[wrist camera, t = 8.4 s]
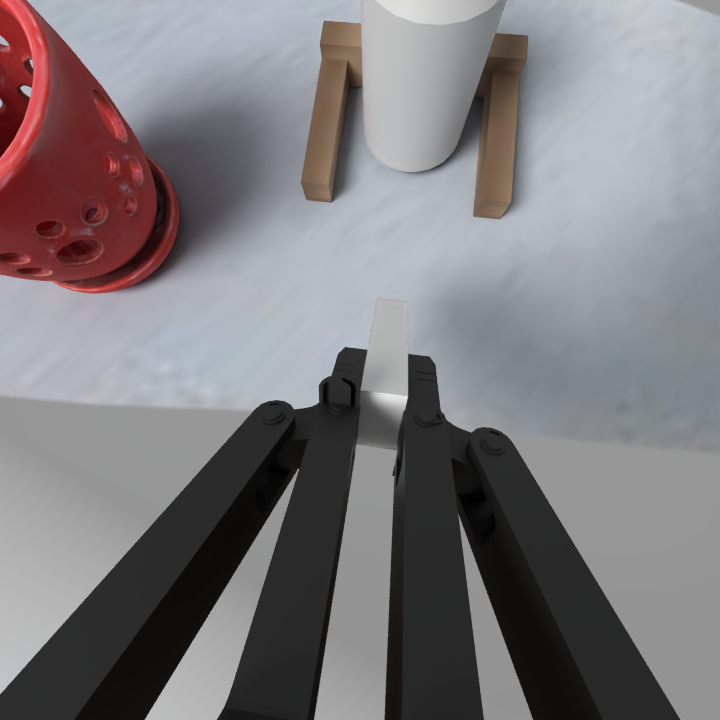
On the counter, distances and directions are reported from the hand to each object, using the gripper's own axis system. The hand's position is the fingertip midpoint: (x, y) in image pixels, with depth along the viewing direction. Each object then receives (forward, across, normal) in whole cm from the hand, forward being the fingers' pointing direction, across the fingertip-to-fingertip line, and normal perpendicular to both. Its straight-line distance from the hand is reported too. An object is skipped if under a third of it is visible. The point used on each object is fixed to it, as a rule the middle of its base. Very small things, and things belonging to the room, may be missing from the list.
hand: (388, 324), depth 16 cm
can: (+18, 0, +7) cm, 19 cm away
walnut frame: (+17, 0, +7) cm, 19 cm away
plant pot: (+10, -22, -1) cm, 24 cm away
